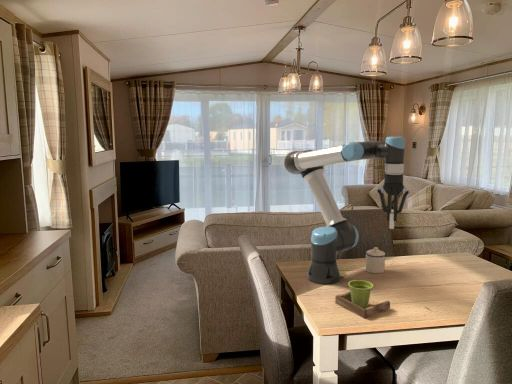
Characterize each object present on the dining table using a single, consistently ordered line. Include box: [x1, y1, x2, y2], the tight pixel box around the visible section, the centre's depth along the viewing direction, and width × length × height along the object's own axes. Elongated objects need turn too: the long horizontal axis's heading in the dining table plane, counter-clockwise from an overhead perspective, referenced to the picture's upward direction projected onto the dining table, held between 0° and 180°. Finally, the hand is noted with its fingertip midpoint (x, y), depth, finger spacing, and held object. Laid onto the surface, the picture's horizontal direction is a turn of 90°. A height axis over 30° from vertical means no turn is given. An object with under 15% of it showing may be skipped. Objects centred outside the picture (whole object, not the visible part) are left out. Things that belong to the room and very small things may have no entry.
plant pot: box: [347, 279, 374, 309], centre depth 156 cm, size 9×9×9 cm
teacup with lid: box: [365, 246, 386, 274], centre depth 195 cm, size 12×9×12 cm
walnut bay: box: [334, 291, 391, 319], centre depth 155 cm, size 14×15×3 cm
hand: (391, 228), depth 170 cm, fingers closed
